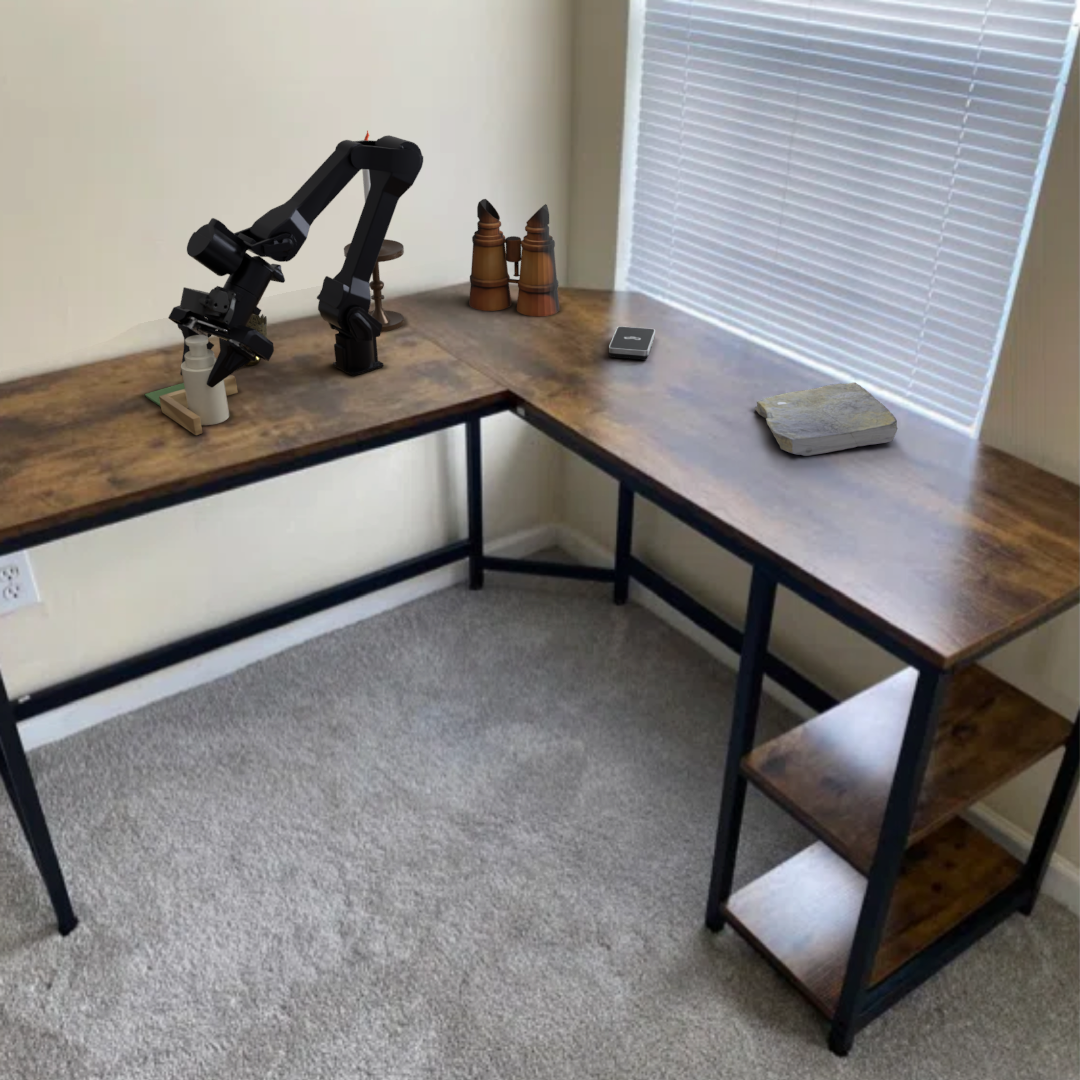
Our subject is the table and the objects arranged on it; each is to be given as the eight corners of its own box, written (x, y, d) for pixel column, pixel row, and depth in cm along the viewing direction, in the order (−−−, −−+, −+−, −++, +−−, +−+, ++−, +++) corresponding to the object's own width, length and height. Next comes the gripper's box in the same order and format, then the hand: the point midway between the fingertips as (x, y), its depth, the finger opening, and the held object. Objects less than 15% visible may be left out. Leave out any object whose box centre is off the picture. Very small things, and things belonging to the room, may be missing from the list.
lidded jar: (217, 406, 180) (204, 328, 173) (236, 417, 176) (224, 339, 169) (183, 416, 176) (168, 338, 170) (201, 428, 173) (188, 349, 166)
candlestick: (420, 322, 212) (409, 129, 194) (377, 337, 205) (361, 139, 187) (381, 309, 218) (367, 120, 200) (338, 324, 211) (319, 130, 193)
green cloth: (211, 376, 190) (211, 374, 190) (229, 387, 186) (228, 385, 186) (144, 396, 183) (144, 394, 183) (161, 407, 179) (161, 405, 179)
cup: (261, 372, 191) (255, 328, 187) (221, 369, 193) (214, 324, 189) (278, 356, 198) (273, 313, 194) (239, 353, 199) (233, 310, 195)
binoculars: (462, 308, 219) (458, 204, 209) (477, 294, 226) (474, 193, 215) (552, 318, 214) (552, 213, 204) (565, 304, 221) (566, 201, 210)
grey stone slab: (736, 416, 179) (781, 458, 164) (739, 389, 176) (785, 429, 161) (851, 408, 183) (905, 448, 168) (855, 381, 181) (910, 419, 166)
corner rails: (234, 390, 185) (231, 374, 184) (269, 411, 178) (267, 395, 177) (161, 412, 178) (158, 396, 176) (195, 435, 171) (192, 419, 169)
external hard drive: (654, 339, 205) (655, 328, 204) (647, 362, 196) (647, 351, 195) (617, 336, 206) (617, 326, 205) (607, 358, 197) (608, 348, 196)
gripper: (167, 254, 172) (120, 343, 170) (248, 277, 162) (198, 372, 160) (216, 290, 181) (172, 375, 179) (295, 314, 171) (249, 404, 170)
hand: (195, 381), depth 172 cm, fingers closed on lidded jar, 6 cm apart
